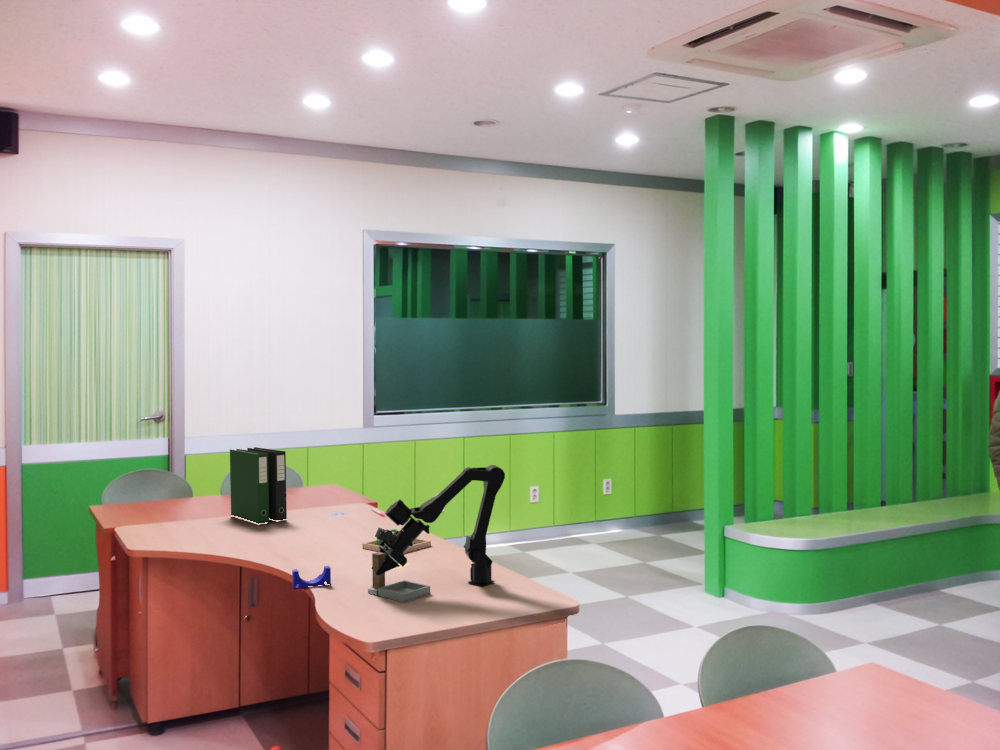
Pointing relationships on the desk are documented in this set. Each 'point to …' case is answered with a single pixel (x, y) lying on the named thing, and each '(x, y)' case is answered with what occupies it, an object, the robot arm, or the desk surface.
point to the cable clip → (314, 582)
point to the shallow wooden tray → (418, 545)
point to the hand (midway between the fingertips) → (374, 572)
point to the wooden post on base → (377, 579)
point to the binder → (258, 484)
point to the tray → (404, 591)
